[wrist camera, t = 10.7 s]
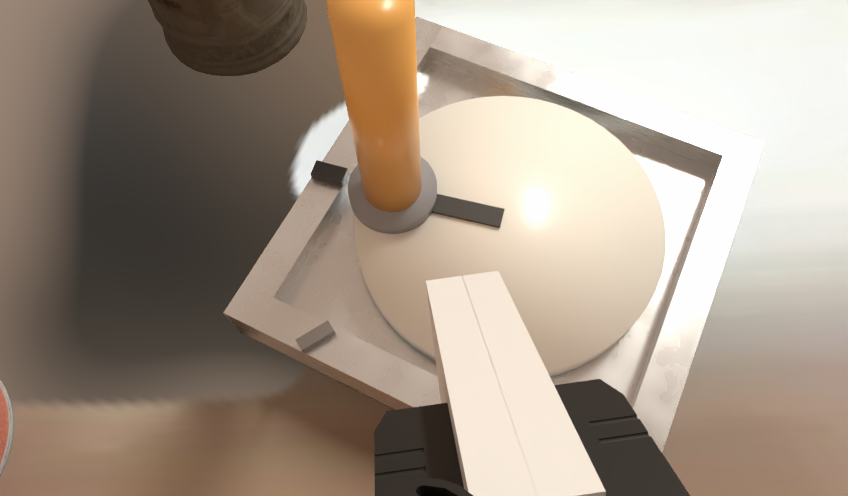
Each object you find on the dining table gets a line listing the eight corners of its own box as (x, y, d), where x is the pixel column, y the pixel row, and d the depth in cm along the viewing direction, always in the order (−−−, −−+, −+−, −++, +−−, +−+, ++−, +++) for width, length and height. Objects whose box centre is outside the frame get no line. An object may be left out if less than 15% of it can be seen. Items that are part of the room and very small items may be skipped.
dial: (673, 142, 42) (803, -86, 27) (637, 417, 35) (789, 314, 20) (394, 84, 44) (373, -154, 29) (306, 332, 37) (219, 182, 22)
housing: (417, 51, 49) (415, 9, 45) (740, 172, 44) (768, 136, 40) (239, 332, 40) (218, 309, 36) (621, 523, 35) (643, 519, 31)
